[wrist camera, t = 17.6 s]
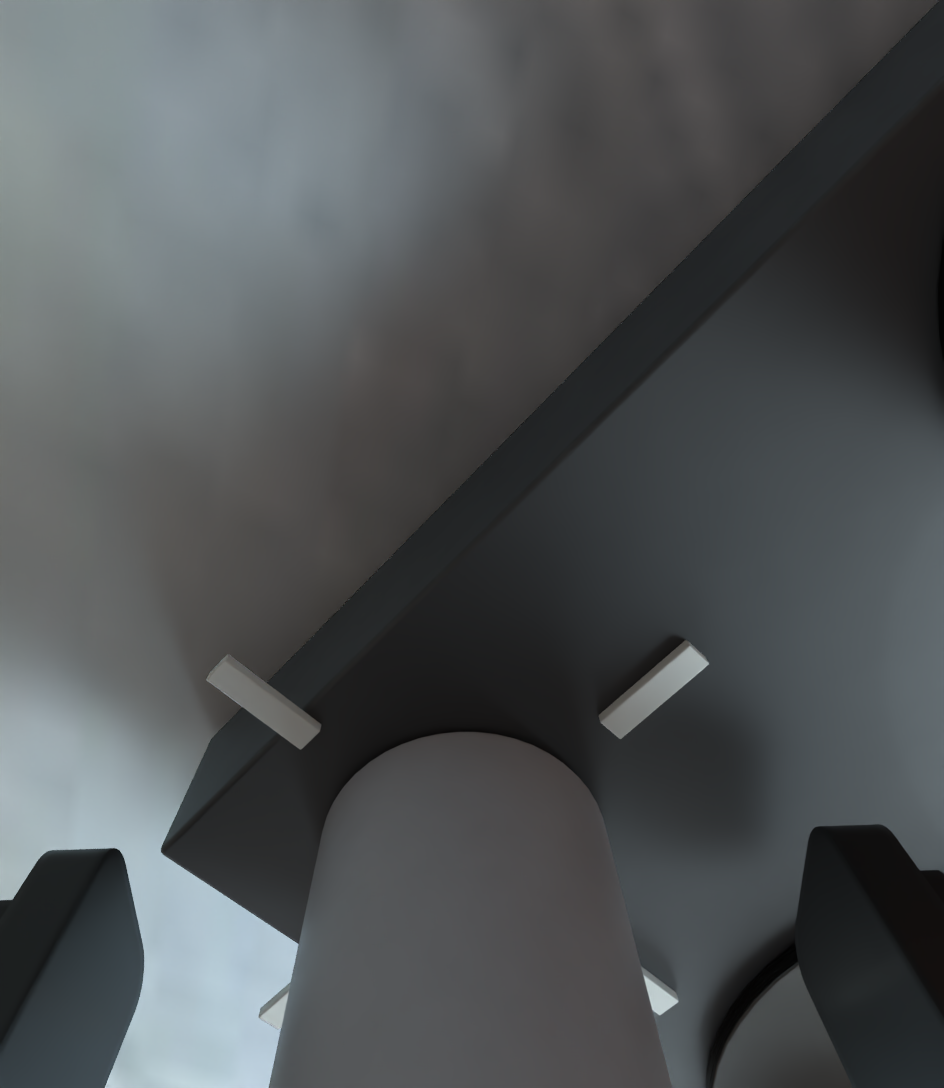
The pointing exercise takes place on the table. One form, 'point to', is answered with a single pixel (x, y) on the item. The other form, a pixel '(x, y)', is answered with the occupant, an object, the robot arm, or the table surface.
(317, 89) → the table surface
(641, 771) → the hob
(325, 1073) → the hob knob
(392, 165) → the table surface
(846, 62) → the table surface
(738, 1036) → the burners
